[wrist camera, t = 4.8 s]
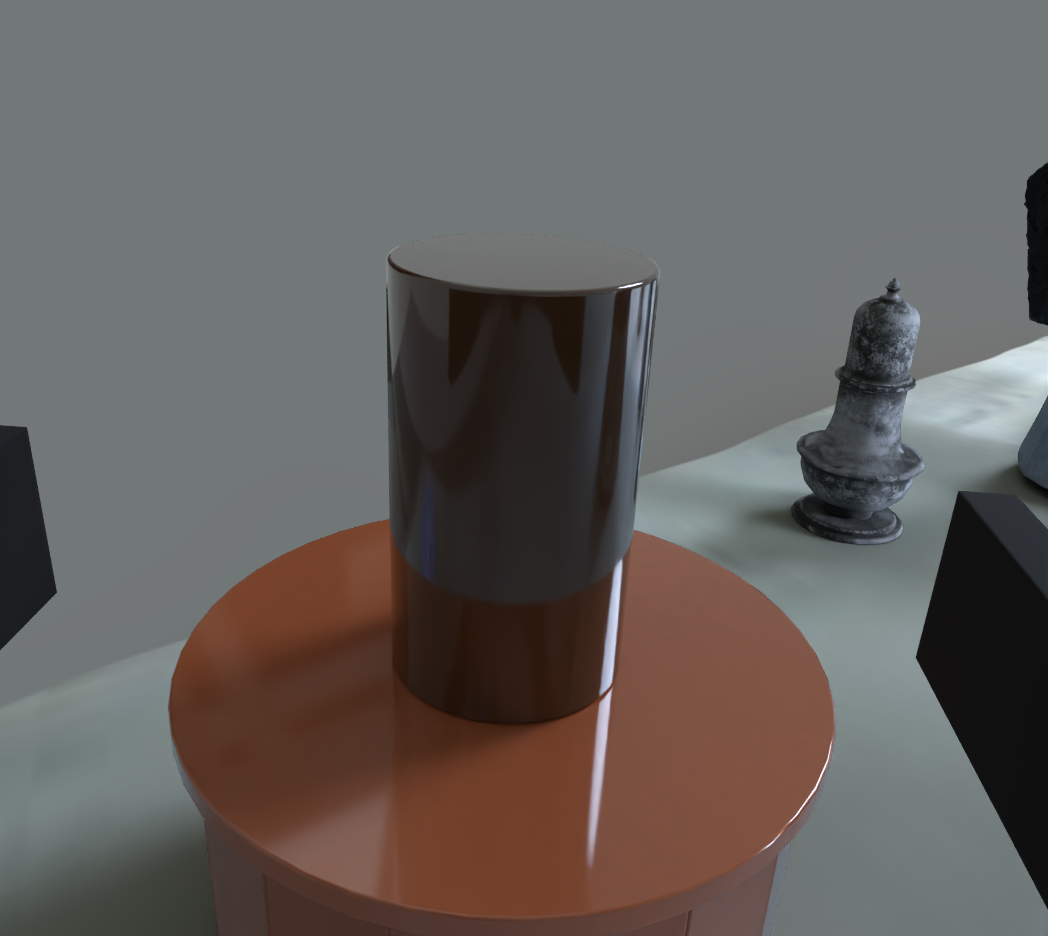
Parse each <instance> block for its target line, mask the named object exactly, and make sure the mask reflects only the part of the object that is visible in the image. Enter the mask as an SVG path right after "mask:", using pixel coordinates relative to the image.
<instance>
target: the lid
mask: <svg viewBox="0 0 1048 936" xmlns="http://www.w3.org/2000/svg"><path fill="white" fill-rule="evenodd" d="M659 279H660V270H659V267H658V266H657V264H656V263H655V262H654V261H653V260H651V259H649V258H647V257H646V256H643V255H641V254H639V253H637V252H634V251H631V250H628V249H624V248H621V247H617V246H613V245H609V244H604V243H600V242H594V241H588V240H581V239H575V238H567V237H558V236H546V235H532V234H508V233H485V234H484V233H483V234H463V235H462V234H460V235H448V236H440V237H432V238H427V239H421V240H417V241H413V242H410V243H407V244H404V245H401V246H399V247H396V248H394V249H393V250H392V251H390V253H389V254H388V256H387V258H386V287H387V288H386V292H387V359H388V361H387V363H388V427H389V428H388V431H389V432H388V433H389V497H390V498H389V500H390V501H389V504H390V519H388V520H383V521H378V522H373V523H369V524H365V525H361V526H358V527H354V528H351V529H347V530H344V531H340V532H337V533H334V534H332V535H329V536H326V537H323V538H320V539H318V540H315V541H312V542H310V543H307V544H305V545H303V546H301V547H299V548H297V549H294V550H292V551H290V552H288V553H286V554H283V555H282V556H280V557H278V558H276V559H275V560H273V561H271V562H269V563H268V564H266V565H264V566H263V567H261V568H259V569H257V570H256V571H254V572H253V573H252V574H250V575H249V576H247V577H246V578H245V579H243V580H242V581H241V582H239V583H238V584H236V585H235V586H234V587H232V588H231V589H230V590H229V591H228V592H227V593H226V594H225V595H224V596H223V597H222V598H221V599H219V600H218V601H217V602H216V603H215V604H214V605H213V606H212V607H211V608H210V610H209V611H208V612H207V613H206V615H205V616H204V617H203V618H202V619H201V621H200V622H199V623H198V624H197V626H196V627H195V628H194V630H193V632H192V633H191V635H190V637H189V639H188V640H187V642H186V644H185V646H184V647H183V649H182V651H181V653H180V656H179V659H178V662H177V665H176V668H175V670H174V673H173V676H172V679H171V687H170V695H169V703H168V712H169V722H170V731H171V740H172V748H173V755H174V758H175V761H176V764H177V767H178V770H179V773H180V776H181V779H182V782H183V785H184V786H185V788H186V790H187V792H188V793H189V795H190V797H191V798H192V800H193V802H194V803H195V805H196V807H197V809H198V810H199V812H200V814H201V815H202V817H203V818H204V819H205V820H206V821H207V822H208V823H209V824H210V826H211V827H212V828H213V829H214V830H215V831H216V832H217V834H218V835H219V836H220V837H221V838H222V839H223V840H224V842H225V843H226V844H227V845H228V846H229V847H230V848H231V849H233V850H234V851H235V852H236V853H238V854H239V855H240V856H241V857H242V858H244V859H245V860H246V861H247V862H249V863H250V864H251V865H252V866H254V867H255V868H256V869H257V870H259V871H260V872H261V873H262V874H264V875H265V876H267V877H269V878H271V879H272V880H274V881H276V882H277V883H279V884H281V885H283V886H284V887H286V888H288V889H289V890H291V891H293V892H295V893H296V894H298V895H300V896H301V897H303V898H305V899H307V900H310V901H312V902H314V903H317V904H319V905H322V906H324V907H327V908H329V909H331V910H334V911H336V912H339V913H341V914H343V915H346V916H348V917H351V918H353V919H356V920H360V921H364V922H367V923H371V924H375V925H378V926H382V927H386V928H389V929H393V930H396V931H400V932H404V933H407V934H414V935H421V936H604V935H609V934H614V933H620V932H625V931H630V930H635V929H638V928H641V927H644V926H647V925H650V924H653V923H657V922H660V921H663V920H666V919H669V918H672V917H675V916H678V915H681V914H684V913H686V912H688V911H691V910H693V909H695V908H697V907H699V906H701V905H703V904H705V903H707V902H709V901H711V900H713V899H715V898H717V897H719V896H721V895H723V894H725V893H727V892H729V891H731V890H732V889H734V888H735V887H736V886H738V885H739V884H741V883H742V882H744V881H745V880H747V879H748V878H750V877H751V876H752V875H754V874H755V873H757V872H758V871H760V870H761V869H763V868H764V867H765V866H766V865H767V864H768V863H769V862H770V861H771V860H772V859H773V858H774V857H775V856H776V855H777V854H778V853H779V852H781V851H782V850H783V849H784V848H785V847H786V846H787V845H788V844H789V843H790V842H791V841H792V840H793V839H794V838H795V836H796V835H797V833H798V832H799V830H800V829H801V827H802V826H803V825H804V823H805V822H806V820H807V819H808V817H809V816H810V815H811V813H812V812H813V810H814V808H815V806H816V803H817V801H818V799H819V796H820V794H821V792H822V789H823V787H824V785H825V782H826V779H827V775H828V771H829V766H830V761H831V756H832V751H833V745H834V740H835V708H834V703H833V699H832V695H831V691H830V687H829V683H828V679H827V677H826V675H825V672H824V670H823V668H822V666H821V664H820V662H819V660H818V657H817V655H816V653H815V652H814V650H813V649H812V647H811V646H810V644H809V643H808V641H807V640H806V639H805V637H804V636H803V634H802V633H801V631H800V630H799V629H798V628H797V627H796V626H795V624H794V623H793V622H792V621H791V620H790V619H789V618H788V617H787V616H786V615H785V613H784V612H783V611H782V610H781V609H780V608H779V607H777V606H776V605H775V604H774V603H773V602H772V601H770V600H769V599H768V598H767V597H766V596H765V595H763V594H762V593H761V592H760V591H759V590H757V589H756V588H754V587H753V586H752V585H750V584H749V583H747V582H746V581H744V580H743V579H741V578H740V577H739V576H737V575H736V574H734V573H732V572H731V571H729V570H727V569H725V568H724V567H722V566H720V565H718V564H716V563H715V562H713V561H711V560H709V559H708V558H705V557H703V556H701V555H699V554H697V553H694V552H692V551H690V550H688V549H686V548H684V547H681V546H679V545H676V544H674V543H671V542H668V541H666V540H663V539H660V538H658V537H655V536H652V535H649V534H646V533H642V532H639V531H636V530H633V529H634V520H635V510H636V500H637V491H638V481H639V472H640V462H641V451H642V442H643V433H644V423H645V414H646V404H647V394H648V385H649V375H650V366H651V356H652V346H653V336H654V327H655V317H656V308H657V298H658V288H659Z"/></svg>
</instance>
